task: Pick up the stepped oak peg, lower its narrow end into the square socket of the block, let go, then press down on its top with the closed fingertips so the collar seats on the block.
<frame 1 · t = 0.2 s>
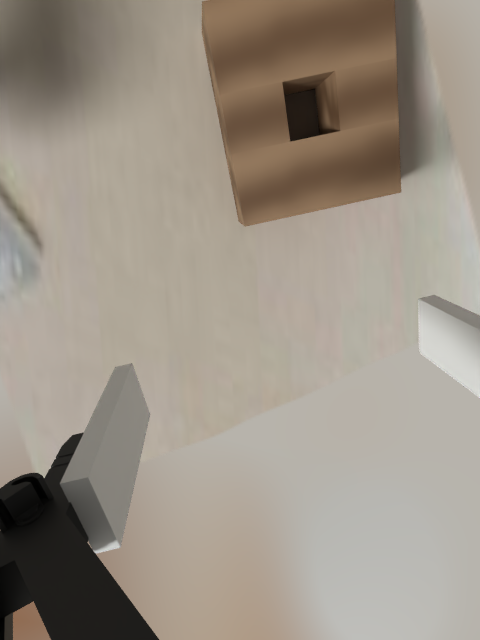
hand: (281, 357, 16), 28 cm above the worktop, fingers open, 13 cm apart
socket block: (295, 119, 38), on the worktop
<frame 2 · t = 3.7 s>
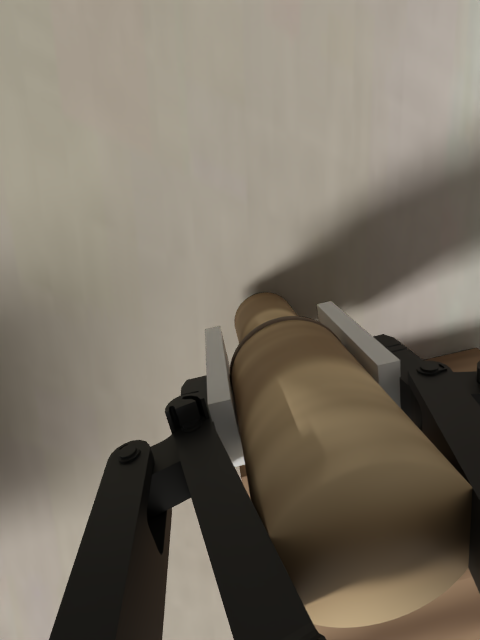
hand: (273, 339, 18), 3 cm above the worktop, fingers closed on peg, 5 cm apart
socket block: (364, 482, 26), on the worktop
peg: (263, 320, 21), on the worktop, touching gripper
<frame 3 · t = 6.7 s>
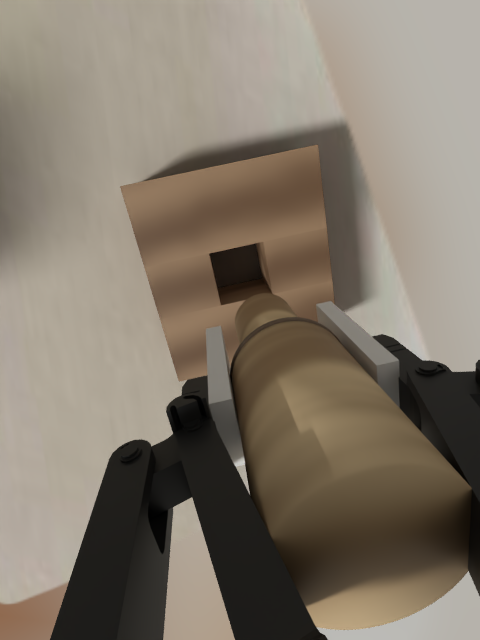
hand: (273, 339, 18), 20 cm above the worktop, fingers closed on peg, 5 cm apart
socket block: (235, 261, 37), on the worktop
peg: (264, 321, 21), point 18 cm above the worktop, touching gripper
when the fingers open (8 cm above the worktop, at t = 9.5 s): peg drops 6 cm, resting on socket block.
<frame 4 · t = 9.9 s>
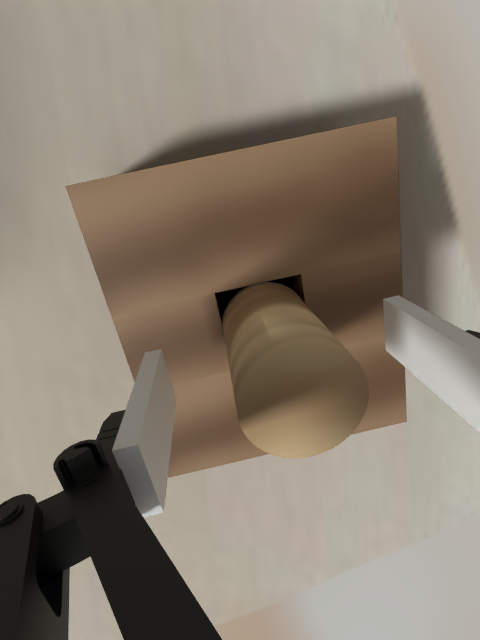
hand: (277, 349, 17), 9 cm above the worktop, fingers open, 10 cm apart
socket block: (251, 294, 26), on the worktop
peg: (250, 294, 26), resting on socket block
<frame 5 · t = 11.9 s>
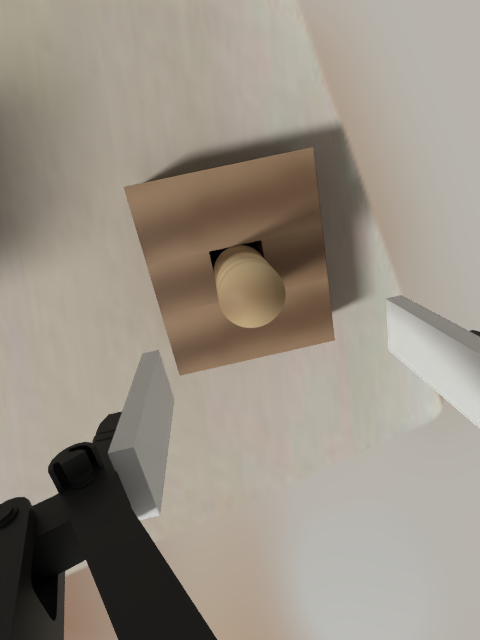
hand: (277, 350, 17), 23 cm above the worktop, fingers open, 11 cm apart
socket block: (234, 259, 38), on the worktop
peg: (234, 259, 38), resting on socket block
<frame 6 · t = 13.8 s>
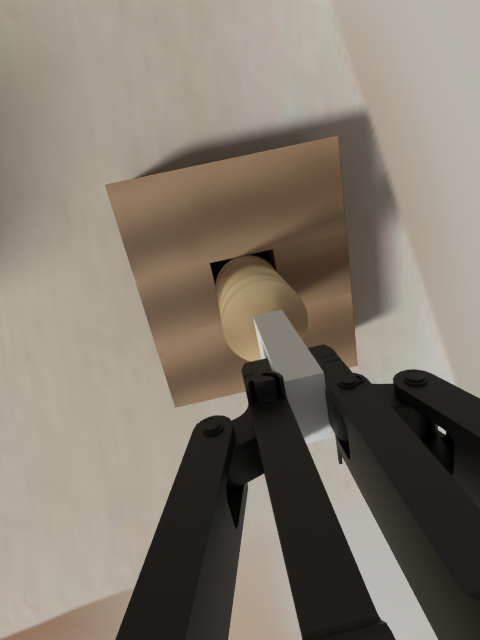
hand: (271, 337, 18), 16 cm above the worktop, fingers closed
socket block: (239, 269, 33), on the worktop
peg: (238, 269, 33), resting on socket block
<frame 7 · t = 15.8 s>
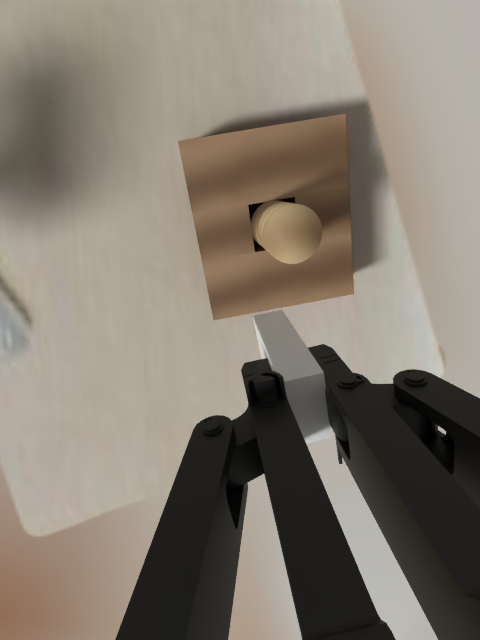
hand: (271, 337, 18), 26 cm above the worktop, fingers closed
socket block: (264, 220, 42), on the worktop
peg: (264, 220, 42), resting on socket block
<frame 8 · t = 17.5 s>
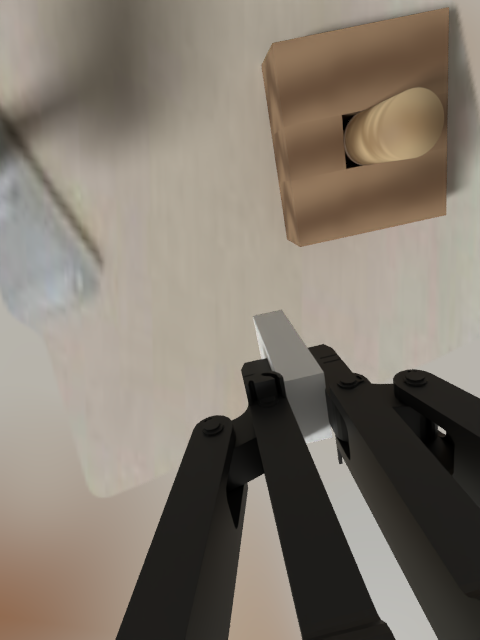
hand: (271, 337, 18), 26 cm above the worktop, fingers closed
socket block: (344, 144, 40), on the worktop
peg: (344, 145, 40), resting on socket block
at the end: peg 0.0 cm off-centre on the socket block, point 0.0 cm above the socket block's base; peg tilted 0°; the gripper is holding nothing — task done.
